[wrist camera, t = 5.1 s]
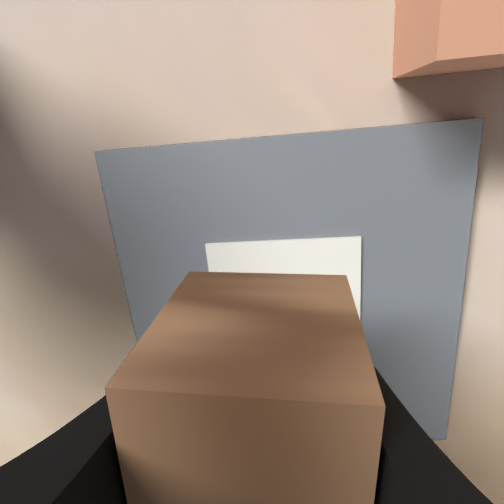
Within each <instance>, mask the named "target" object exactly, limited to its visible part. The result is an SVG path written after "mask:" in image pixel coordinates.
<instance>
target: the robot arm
mask: <svg viewBox="0 0 504 504" xmlns="http://www.w3.org/2000/svg"><path fill="white" fill-rule="evenodd" d="M374 369H375V373H376V376H377V379H378V383H379V386H380V389H381V393H382V396H383V399H384V403H385V406H386V407H385V416H384V424H383V432H382V440H381V449H380V457H379V465H378V474H377V482H376V490H375V499H374V504H493V503H492V502H491V501H490V500H489V499H488V498H487V497H486V496H484V495H483V494H482V493H481V492H480V491H479V490H478V489H477V488H476V487H475V486H474V485H473V484H472V483H471V482H470V481H469V480H468V479H467V477H466V476H465V475H464V474H463V473H462V472H461V471H460V470H459V469H458V468H457V467H456V466H455V465H454V464H453V463H452V461H451V460H450V459H449V458H448V457H447V456H446V455H445V454H444V453H443V452H442V451H441V449H440V448H439V447H438V446H437V445H436V444H435V443H434V441H433V440H432V439H431V438H430V437H429V436H428V434H427V433H426V432H425V431H424V430H423V428H422V427H421V426H420V425H419V424H418V422H417V421H416V420H415V419H414V418H413V416H412V415H411V414H410V413H409V411H408V410H407V409H406V408H405V406H404V405H403V404H402V402H401V401H400V400H399V399H398V397H397V396H396V395H395V393H394V392H393V391H392V389H391V388H390V387H389V385H388V384H387V382H386V381H385V380H384V378H383V377H382V375H381V374H380V373H379V371H378V370H377V369H376V368H375V367H374ZM0 504H127V499H126V494H125V489H124V484H123V479H122V474H121V469H120V464H119V458H118V453H117V448H116V443H115V438H114V433H113V428H112V423H111V418H110V413H109V408H108V403H107V398H106V395H105V396H104V397H103V398H101V399H100V400H99V401H98V402H96V403H95V404H94V405H92V406H91V407H89V408H88V409H87V410H85V411H84V412H83V413H81V414H80V415H79V416H77V417H76V418H74V419H73V420H72V421H70V422H69V423H68V424H66V425H65V426H63V427H62V428H61V429H59V430H58V431H56V432H55V433H53V434H52V435H50V436H49V437H47V438H46V439H44V440H43V441H41V442H40V443H38V444H37V445H35V446H34V447H32V448H30V449H29V450H27V451H26V452H24V453H22V454H21V455H19V456H18V457H16V458H14V459H13V460H11V461H9V462H8V463H6V464H4V465H3V466H1V467H0Z"/></svg>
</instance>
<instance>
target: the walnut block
mask: <svg viewBox="0 0 504 504" xmlns="http://www.w3.org/2000/svg"><path fill="white" fill-rule="evenodd" d="M105 393H106V398H107V403H108V408H109V413H110V418H111V423H112V428H113V433H114V438H115V443H116V448H117V453H118V458H119V464H120V469H121V474H122V479H123V484H124V489H125V494H126V499H127V504H374V499H375V490H376V482H377V474H378V465H379V457H380V449H381V440H382V432H383V424H384V416H385V407H386V406H385V403H384V399H383V396H382V393H381V389H380V386H379V383H378V379H377V376H376V373H375V369H374V366H373V363H372V359H371V356H370V352H369V349H368V346H367V342H366V339H365V336H364V332H363V329H362V326H361V322H360V319H359V316H358V312H357V309H356V305H355V302H354V299H353V295H352V292H351V289H350V285H349V282H348V279H347V275H321V274H279V273H237V272H194V271H189V273H188V274H187V275H186V277H185V278H184V279H183V281H182V282H181V284H180V285H179V286H178V288H177V289H176V290H175V292H174V293H173V294H172V296H171V297H170V299H169V300H168V301H167V303H166V304H165V305H164V307H163V308H162V310H161V311H160V312H159V314H158V315H157V316H156V318H155V319H154V321H153V322H152V323H151V325H150V326H149V327H148V329H147V330H146V332H145V333H144V334H143V336H142V337H141V338H140V340H139V341H138V343H137V344H136V345H135V347H134V348H133V349H132V351H131V352H130V354H129V355H128V356H127V358H126V359H125V360H124V362H123V363H122V365H121V366H120V367H119V369H118V370H117V371H116V373H115V374H114V376H113V377H112V378H111V380H110V381H109V382H108V384H107V385H106V386H105Z"/></svg>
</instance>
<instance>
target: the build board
mask: <svg viewBox="0 0 504 504" xmlns="http://www.w3.org/2000/svg"><path fill="white" fill-rule="evenodd" d="M483 120H484V118H472V119H461V120H449V121H438V122H426V123H415V124H403V125H391V126H380V127H368V128H357V129H345V130H334V131H322V132H311V133H299V134H287V135H276V136H264V137H253V138H241V139H230V140H218V141H207V142H195V143H183V144H172V145H160V146H149V147H137V148H126V149H114V150H103V151H96V152H94V153H95V157H96V161H97V166H98V170H99V175H100V179H101V184H102V188H103V193H104V197H105V201H106V206H107V210H108V215H109V219H110V224H111V228H112V233H113V237H114V241H115V246H116V250H117V255H118V259H119V264H120V268H121V273H122V277H123V281H124V286H125V290H126V295H127V299H128V304H129V308H130V313H131V317H132V321H133V326H134V330H135V335H136V339H137V343H138V341H139V340H140V338H141V337H142V336H143V334H144V333H145V332H146V330H147V329H148V327H149V326H150V325H151V323H152V322H153V321H154V319H155V318H156V316H157V315H158V314H159V312H160V311H161V310H162V308H163V307H164V305H165V304H166V303H167V301H168V300H169V299H170V297H171V296H172V294H173V293H174V292H175V290H176V289H177V288H178V286H179V285H180V284H181V282H182V281H183V279H184V278H185V277H186V275H187V274H188V273H189V271H194V272H237V273H279V274H321V275H347V279H348V282H349V285H350V289H351V292H352V295H353V299H354V302H355V305H356V309H357V312H358V316H359V319H360V322H361V326H362V329H363V332H364V336H365V339H366V342H367V346H368V349H369V352H370V356H371V359H372V363H373V366H374V367H375V368H376V369H377V370H378V371H379V373H380V374H381V375H382V377H383V378H384V380H385V381H386V382H387V384H388V385H389V387H390V388H391V389H392V391H393V392H394V393H395V395H396V396H397V397H398V399H399V400H400V401H401V402H402V404H403V405H404V406H405V408H406V409H407V410H408V411H409V413H410V414H411V415H412V416H413V418H414V419H415V420H416V421H417V422H418V424H419V425H420V426H421V427H422V428H423V430H424V431H425V432H426V433H427V434H428V436H429V437H430V438H431V439H439V440H446V434H447V426H448V417H449V409H450V400H451V392H452V383H453V375H454V366H455V358H456V349H457V341H458V332H459V324H460V315H461V307H462V298H463V290H464V281H465V273H466V264H467V256H468V247H469V239H470V230H471V222H472V213H473V205H474V196H475V188H476V179H477V171H478V162H479V154H480V145H481V137H482V128H483Z"/></svg>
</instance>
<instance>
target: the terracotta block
mask: <svg viewBox="0 0 504 504" xmlns="http://www.w3.org/2000/svg"><path fill="white" fill-rule="evenodd" d="M502 67H504V0H396V3H395V27H394V52H393V77H392V79H393V78H403V77H413V76H423V75H433V74H443V73H453V72H463V71H472V70H482V69H492V68H502Z"/></svg>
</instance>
